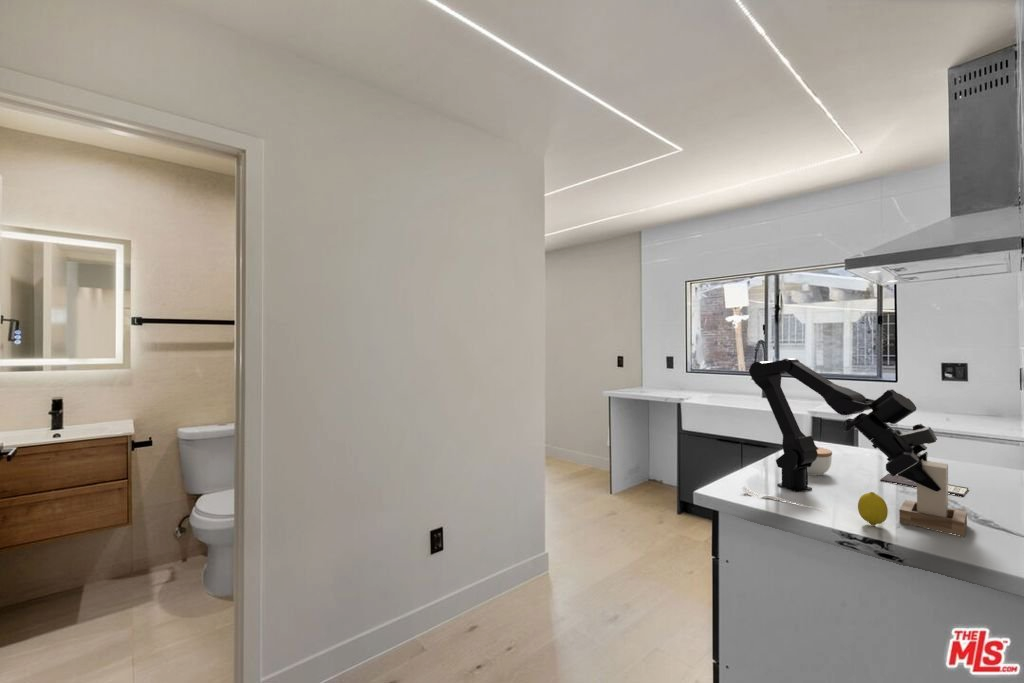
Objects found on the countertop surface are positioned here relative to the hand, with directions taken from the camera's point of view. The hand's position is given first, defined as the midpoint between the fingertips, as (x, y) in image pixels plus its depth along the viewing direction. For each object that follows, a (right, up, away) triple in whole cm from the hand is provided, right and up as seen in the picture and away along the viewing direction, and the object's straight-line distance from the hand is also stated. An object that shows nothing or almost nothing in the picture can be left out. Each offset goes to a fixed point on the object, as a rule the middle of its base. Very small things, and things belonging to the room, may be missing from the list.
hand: (940, 487), depth 106 cm
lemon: (-15, -9, +1) cm, 18 cm away
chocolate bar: (+21, -9, +28) cm, 36 cm away
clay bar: (-1, -7, +1) cm, 7 cm away
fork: (-27, -10, +18) cm, 34 cm away
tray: (-1, -9, +1) cm, 9 cm away
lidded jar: (-2, -9, +41) cm, 42 cm away
